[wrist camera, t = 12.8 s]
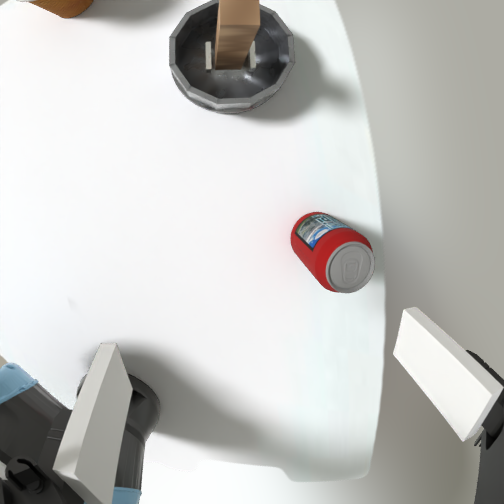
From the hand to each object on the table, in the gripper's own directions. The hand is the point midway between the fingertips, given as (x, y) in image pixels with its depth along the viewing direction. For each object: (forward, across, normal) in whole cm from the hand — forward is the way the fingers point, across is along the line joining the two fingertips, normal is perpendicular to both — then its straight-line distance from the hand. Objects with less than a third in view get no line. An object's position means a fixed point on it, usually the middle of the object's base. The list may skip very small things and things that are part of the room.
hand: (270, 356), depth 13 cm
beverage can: (+27, +11, -3) cm, 29 cm away
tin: (+27, +1, +20) cm, 33 cm away
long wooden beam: (+26, +1, +20) cm, 33 cm away
